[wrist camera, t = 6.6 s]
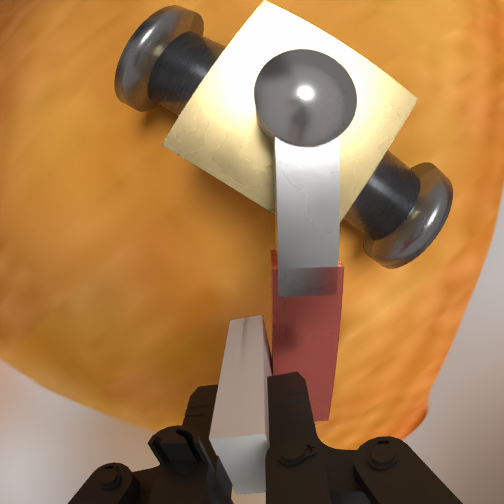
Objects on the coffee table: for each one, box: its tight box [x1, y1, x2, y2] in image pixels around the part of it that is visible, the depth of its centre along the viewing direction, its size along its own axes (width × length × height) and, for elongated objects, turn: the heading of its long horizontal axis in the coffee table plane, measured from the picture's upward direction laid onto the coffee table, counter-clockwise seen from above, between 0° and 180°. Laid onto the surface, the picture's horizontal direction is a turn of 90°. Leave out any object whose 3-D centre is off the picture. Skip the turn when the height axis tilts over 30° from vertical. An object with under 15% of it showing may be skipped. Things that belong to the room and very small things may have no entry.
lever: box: [254, 49, 357, 422], centre depth 12 cm, size 14×3×3 cm, turn 2°
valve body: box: [115, 0, 453, 269], centre depth 16 cm, size 18×8×8 cm, turn 58°
